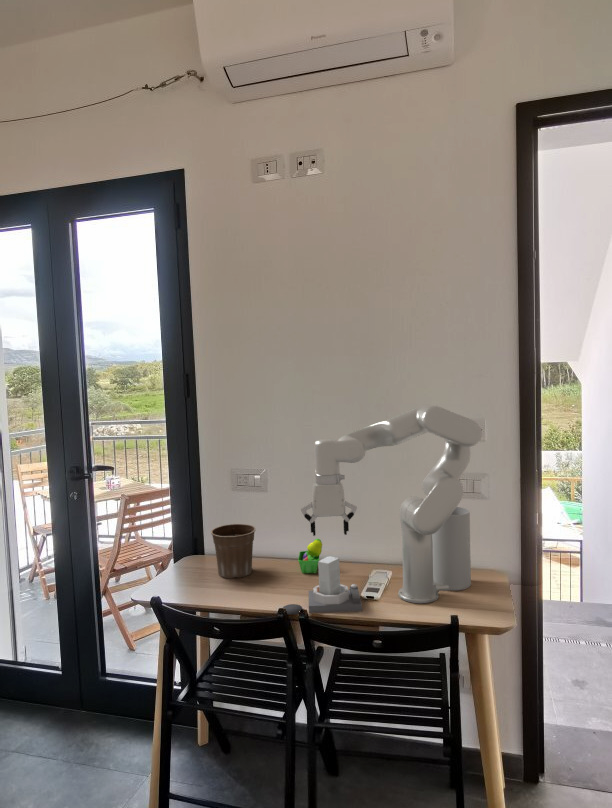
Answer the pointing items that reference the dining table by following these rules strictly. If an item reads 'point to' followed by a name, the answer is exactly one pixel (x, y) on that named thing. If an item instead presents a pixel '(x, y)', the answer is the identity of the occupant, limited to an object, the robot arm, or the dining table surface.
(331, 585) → the skincare box
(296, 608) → the lens cap
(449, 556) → the cylinder vase
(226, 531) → the plant pot
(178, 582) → the dining table surface
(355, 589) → the octagonal ring base
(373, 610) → the dining table surface
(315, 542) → the fruit basket
